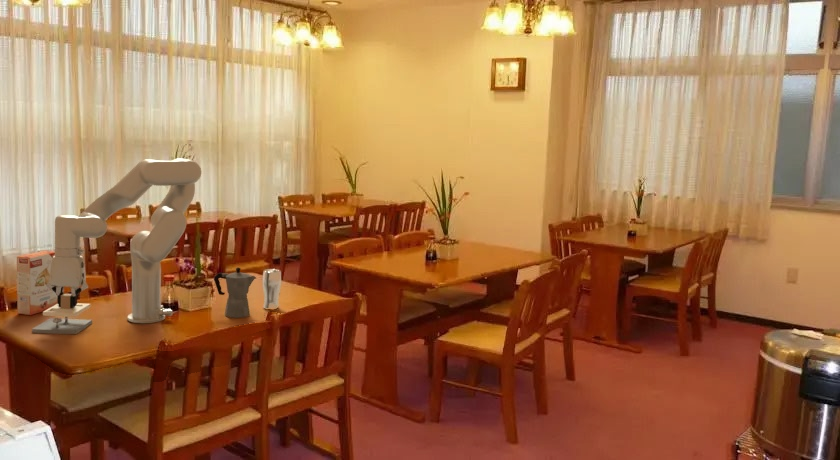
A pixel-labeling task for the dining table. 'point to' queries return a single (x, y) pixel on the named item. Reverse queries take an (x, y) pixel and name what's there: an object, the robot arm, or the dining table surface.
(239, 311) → the coffeepot
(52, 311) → the panel
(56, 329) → the board
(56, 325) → the bosses
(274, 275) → the beer glass
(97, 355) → the dining table surface
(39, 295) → the cracker box
